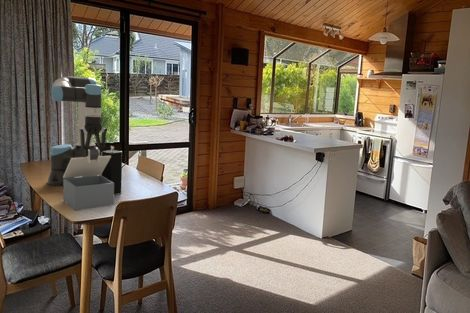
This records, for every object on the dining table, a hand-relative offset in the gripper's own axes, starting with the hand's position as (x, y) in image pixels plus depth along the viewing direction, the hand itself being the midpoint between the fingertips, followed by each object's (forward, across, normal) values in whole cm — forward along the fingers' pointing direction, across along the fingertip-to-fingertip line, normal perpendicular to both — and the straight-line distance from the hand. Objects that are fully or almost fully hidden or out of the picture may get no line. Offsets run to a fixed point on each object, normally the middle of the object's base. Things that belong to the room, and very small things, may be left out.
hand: (93, 161), depth 189 cm
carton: (+23, 0, +6) cm, 24 cm away
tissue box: (+23, +17, +17) cm, 34 cm away
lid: (+4, 0, +6) cm, 7 cm away
